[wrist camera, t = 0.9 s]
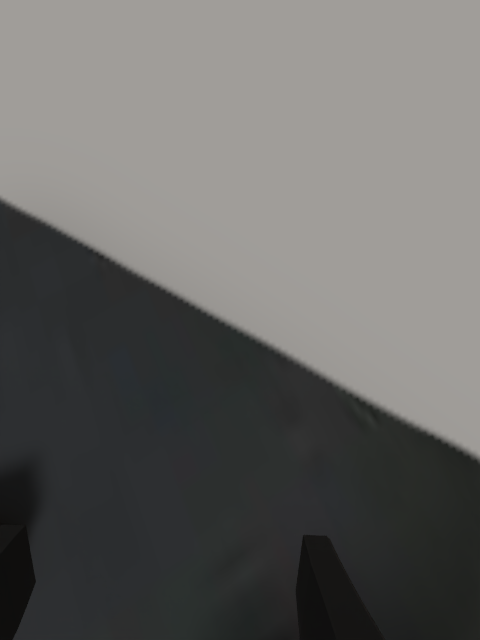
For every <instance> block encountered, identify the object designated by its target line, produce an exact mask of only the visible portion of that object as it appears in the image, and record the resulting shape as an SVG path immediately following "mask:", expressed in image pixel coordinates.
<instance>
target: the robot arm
mask: <svg viewBox="0 0 480 640" xmlns="http://www.w3.org/2000/svg"><path fill="white" fill-rule="evenodd" d="M35 582H36V580H35V575H34V569H33V564H32V558H31V553H30V547H29V541H28V536H27V530H26V525H10V524H2V525H0V640H12V639H13V637H14V635H15V633H16V631H17V629H18V627H19V624H20V622H21V619H22V617H23V614H24V612H25V609H26V607H27V604H28V601H29V599H30V596H31V593H32V591H33V588H34V585H35ZM296 599H297V611H298V622H299V633H300V640H385V638H384V637H383V635H382V634H381V632H380V631H379V629H378V627H377V625H376V624H375V622H374V620H373V619H372V617H371V615H370V614H369V612H368V610H367V609H366V607H365V605H364V604H363V602H362V600H361V598H360V597H359V595H358V593H357V591H356V590H355V588H354V586H353V584H352V582H351V580H350V578H349V577H348V575H347V573H346V571H345V569H344V567H343V565H342V563H341V561H340V559H339V557H338V555H337V553H336V551H335V549H334V547H333V545H332V543H331V540H330V539H329V538H328V537H327V536H315V535H303V541H302V548H301V555H300V563H299V570H298V578H297V585H296Z"/></svg>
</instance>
